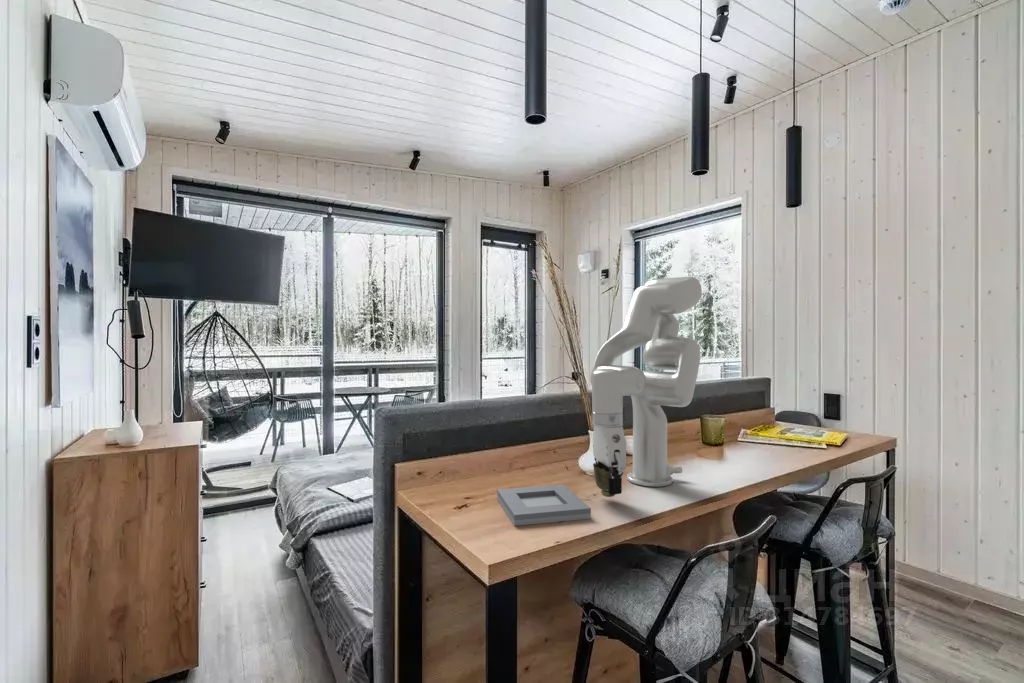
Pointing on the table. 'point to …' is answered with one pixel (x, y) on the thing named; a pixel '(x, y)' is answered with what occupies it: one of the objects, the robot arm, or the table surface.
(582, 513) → the display stand
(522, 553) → the table surface
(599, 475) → the cup
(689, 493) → the table surface
